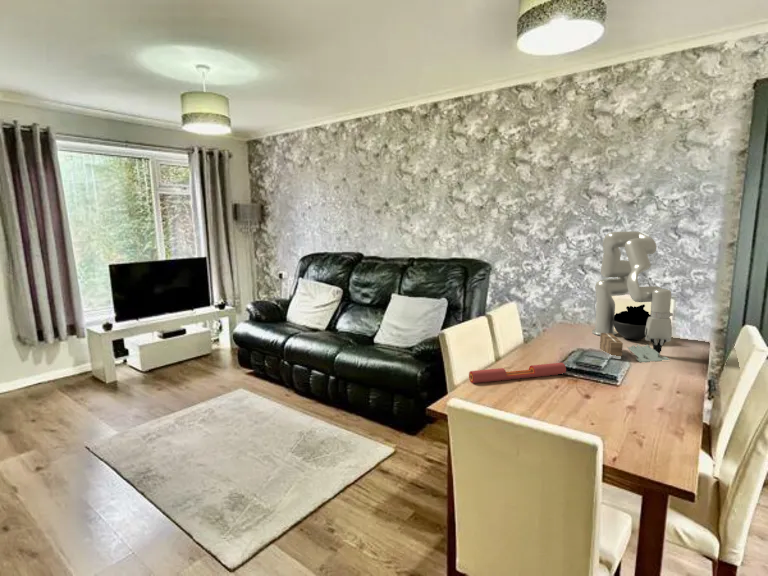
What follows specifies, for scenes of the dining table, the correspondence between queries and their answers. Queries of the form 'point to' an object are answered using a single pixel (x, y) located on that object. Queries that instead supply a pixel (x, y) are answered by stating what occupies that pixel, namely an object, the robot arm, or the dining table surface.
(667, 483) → the dining table surface
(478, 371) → the blood vessel
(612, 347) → the block
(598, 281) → the robot arm
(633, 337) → the bowl of black rocks
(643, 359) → the metal bracket
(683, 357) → the dining table surface
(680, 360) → the dining table surface
